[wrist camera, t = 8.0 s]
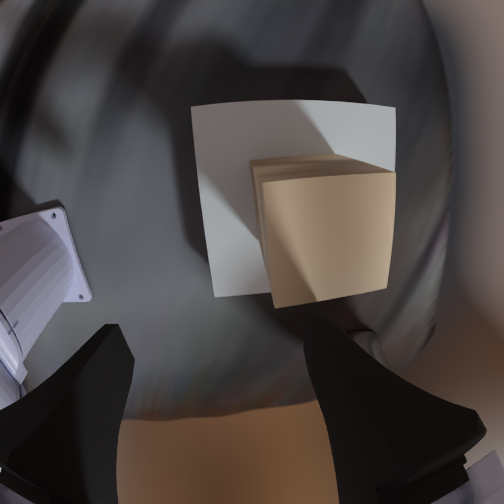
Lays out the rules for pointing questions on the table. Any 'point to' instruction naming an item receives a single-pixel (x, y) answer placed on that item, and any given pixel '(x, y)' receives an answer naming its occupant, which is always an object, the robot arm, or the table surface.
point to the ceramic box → (264, 147)
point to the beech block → (323, 226)
